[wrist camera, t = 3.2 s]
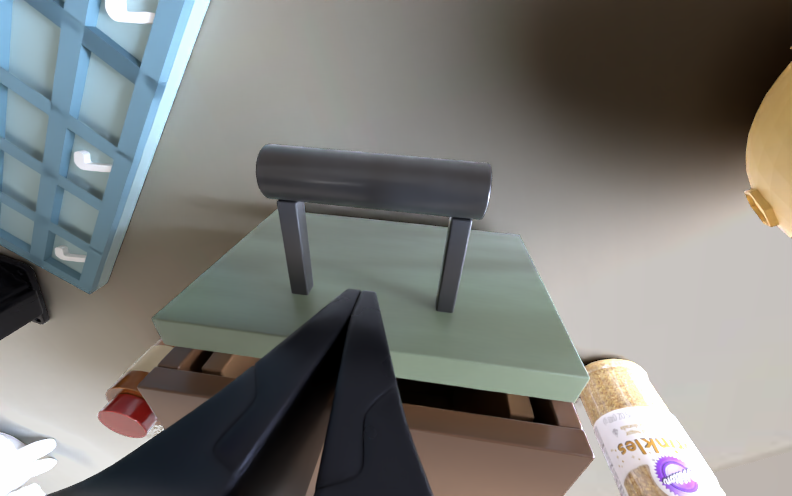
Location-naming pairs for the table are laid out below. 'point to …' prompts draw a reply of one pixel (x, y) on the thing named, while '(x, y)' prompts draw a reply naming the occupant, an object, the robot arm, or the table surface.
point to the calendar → (84, 122)
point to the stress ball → (772, 156)
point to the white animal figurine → (23, 465)
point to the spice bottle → (133, 397)
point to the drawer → (387, 282)
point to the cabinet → (426, 436)
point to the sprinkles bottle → (642, 435)
